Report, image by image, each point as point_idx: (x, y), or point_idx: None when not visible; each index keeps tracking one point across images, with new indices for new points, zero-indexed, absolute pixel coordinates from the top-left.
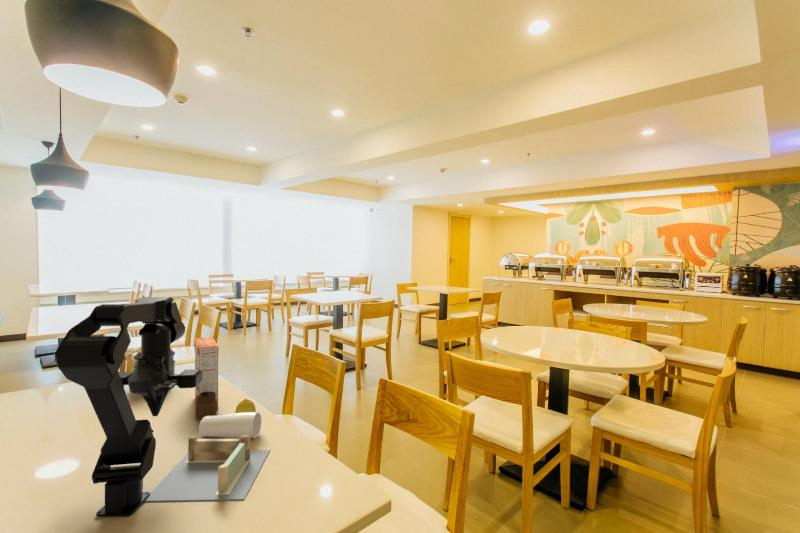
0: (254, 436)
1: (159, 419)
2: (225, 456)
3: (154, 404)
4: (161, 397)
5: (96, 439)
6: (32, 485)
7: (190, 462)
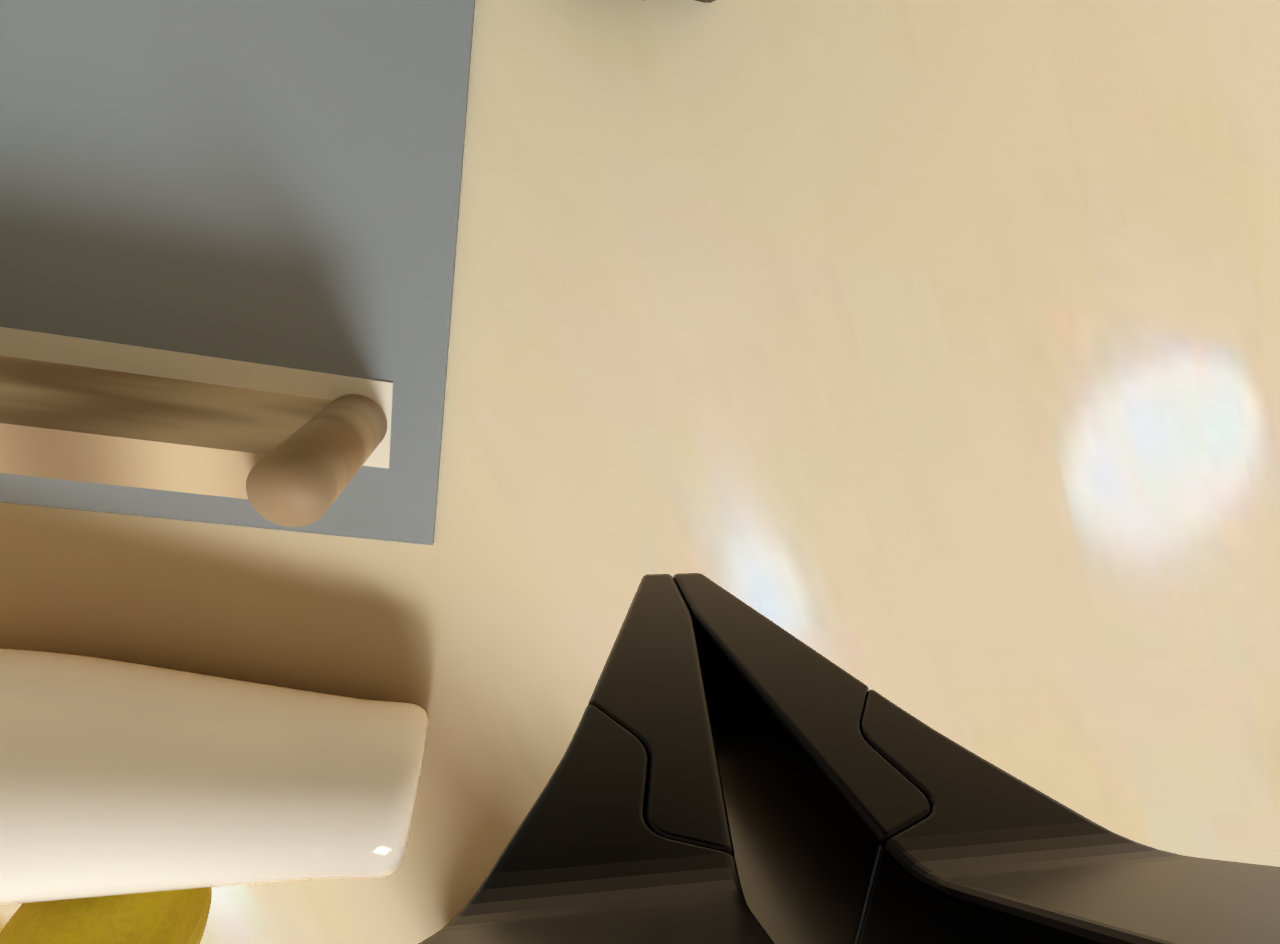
0: None
1: None
2: (27, 370)
3: (730, 726)
4: (534, 838)
5: (1047, 731)
6: (1252, 286)
7: (350, 377)
